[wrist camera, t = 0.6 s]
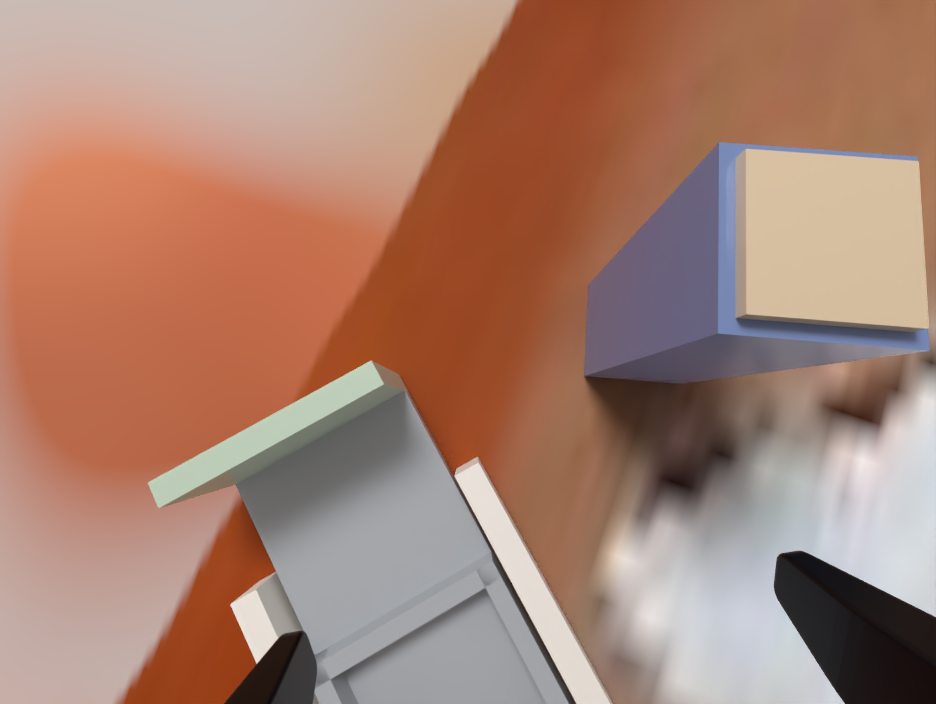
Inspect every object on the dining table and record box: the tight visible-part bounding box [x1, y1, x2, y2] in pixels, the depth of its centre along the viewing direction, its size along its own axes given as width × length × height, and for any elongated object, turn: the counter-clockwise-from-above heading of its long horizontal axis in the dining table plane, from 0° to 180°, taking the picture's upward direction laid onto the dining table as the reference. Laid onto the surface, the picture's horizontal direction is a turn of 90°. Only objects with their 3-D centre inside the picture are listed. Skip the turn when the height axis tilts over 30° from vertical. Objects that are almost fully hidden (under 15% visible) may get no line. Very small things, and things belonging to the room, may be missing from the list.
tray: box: [148, 361, 575, 704], centre depth 17 cm, size 18×9×6 cm, turn 29°
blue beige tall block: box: [584, 142, 930, 384], centre depth 16 cm, size 5×5×12 cm
